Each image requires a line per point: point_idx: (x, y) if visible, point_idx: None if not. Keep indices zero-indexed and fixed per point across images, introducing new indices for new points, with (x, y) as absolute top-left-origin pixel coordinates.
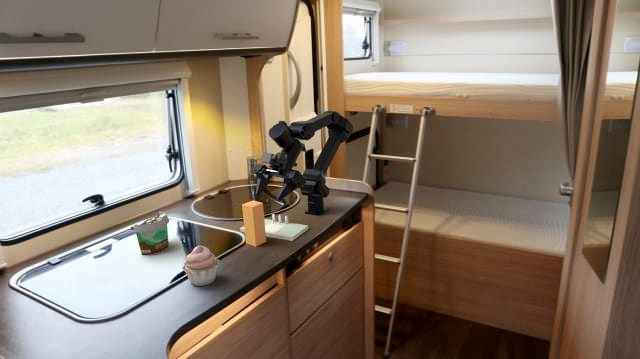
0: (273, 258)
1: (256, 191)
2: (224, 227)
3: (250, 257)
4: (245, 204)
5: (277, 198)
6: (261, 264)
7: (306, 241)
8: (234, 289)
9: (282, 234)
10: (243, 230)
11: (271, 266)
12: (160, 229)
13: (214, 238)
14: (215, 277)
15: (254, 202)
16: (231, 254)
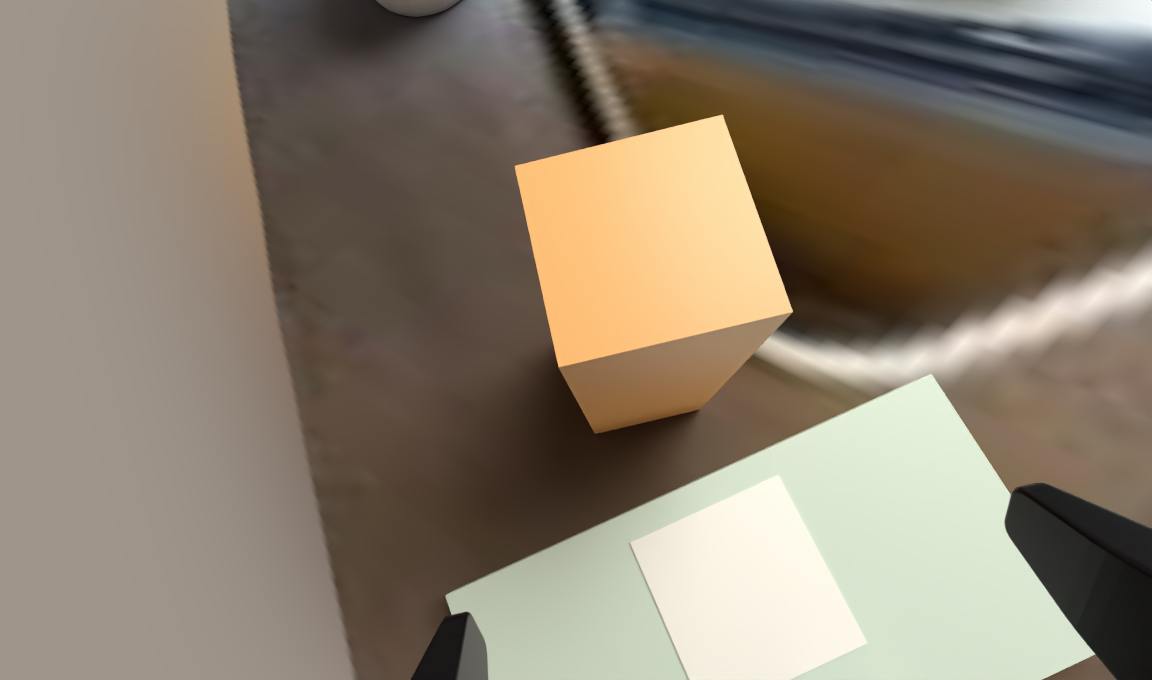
0: (343, 328)
1: (1110, 522)
2: (1095, 329)
3: (462, 235)
4: (693, 151)
5: (448, 632)
6: (339, 240)
7: (366, 670)
8: (246, 43)
9: (552, 570)
10: (890, 392)
11: (276, 268)
12: None
13: (908, 189)
14: (383, 6)
15: (676, 283)
16: None
